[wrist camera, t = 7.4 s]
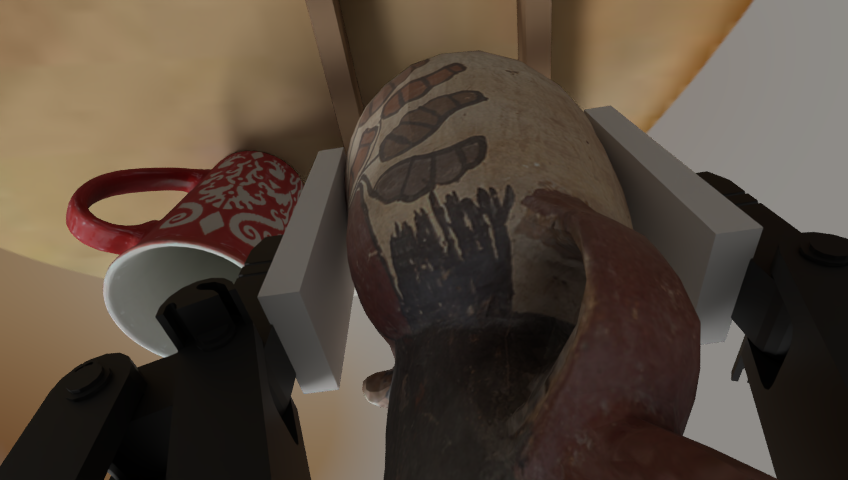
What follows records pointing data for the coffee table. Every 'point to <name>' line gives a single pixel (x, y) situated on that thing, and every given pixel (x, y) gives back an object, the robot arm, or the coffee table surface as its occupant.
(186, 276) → the mug
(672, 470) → the figurine
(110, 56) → the coffee table surface
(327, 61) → the wooden stand
